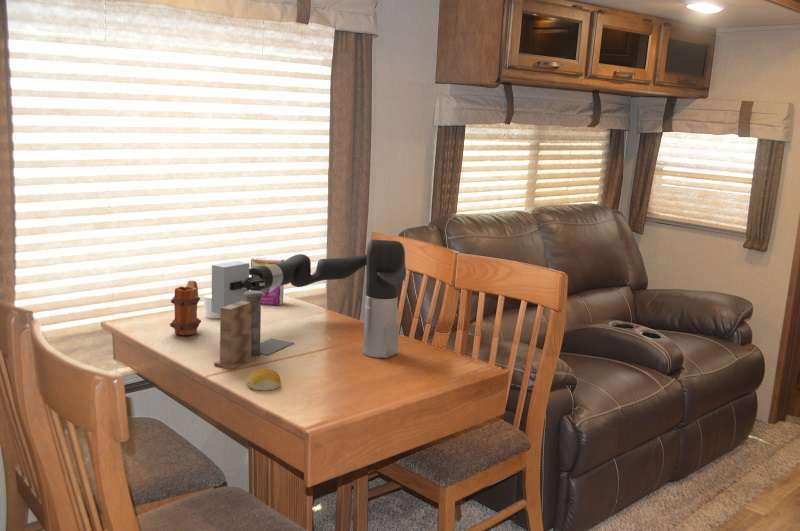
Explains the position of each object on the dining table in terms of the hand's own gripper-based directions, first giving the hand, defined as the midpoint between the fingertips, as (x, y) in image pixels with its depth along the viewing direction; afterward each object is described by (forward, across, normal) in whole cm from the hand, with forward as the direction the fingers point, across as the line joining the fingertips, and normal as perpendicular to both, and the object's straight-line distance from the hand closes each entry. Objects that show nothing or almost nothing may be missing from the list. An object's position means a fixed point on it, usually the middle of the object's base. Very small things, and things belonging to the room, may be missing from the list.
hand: (223, 285), depth 218 cm
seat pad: (-6, -13, -17) cm, 22 cm away
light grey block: (-3, 0, -8) cm, 9 cm away
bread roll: (+18, -34, -18) cm, 43 cm away
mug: (-1, +16, -17) cm, 24 cm away
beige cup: (-19, +24, -17) cm, 35 cm away
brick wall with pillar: (+8, -15, -17) cm, 25 cm away
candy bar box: (-44, +24, -17) cm, 53 cm away
